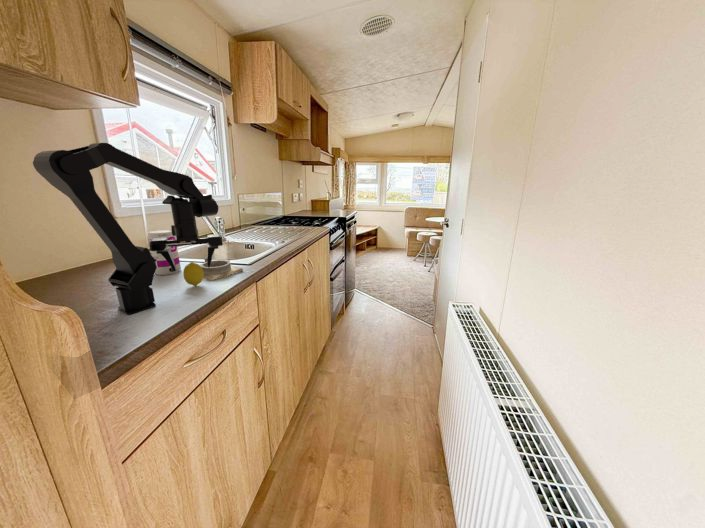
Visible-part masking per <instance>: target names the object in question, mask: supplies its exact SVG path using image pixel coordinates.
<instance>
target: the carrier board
mask: <svg viewBox="0 0 705 528" xmlns="http://www.w3.org/2000/svg"><path fill="white" fill-rule="evenodd" d="M199 265H200V266H201V268H202V270H203V273H204V277H203V279H204V278H205V279H207V278H208V279H207V280H210V279H211V280H210V281H215V280H214V279H216V280H218V279H217V278H219V279H221V278H220V277H222V278H225V277H224V276H226V277H228V276H227V275H229V276H231V275H230V274H232V275H235V274H234V273H236V274H239V273H242V272H241V271H244V269H243V267H240V266H237V265H233V264H231V262H230V261H229V260H225V259H216V260H213V259H211V263H210V267H209V268H208V256H206V257H204V262H203V263H200V264H199ZM238 272H239V273H238Z"/></svg>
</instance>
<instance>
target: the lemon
mask: <svg viewBox="0 0 705 528" xmlns="http://www.w3.org/2000/svg"><path fill="white" fill-rule="evenodd" d="M182 275H183V280H185V282H186V283H187V284H188V285H192V286H194V287H197V286H198V285H199V284H200V283H202V281H203V280H204V273H203V270H202V268H201V266H200V264H199V263H196V262H193V261H190V263H188V264H186V265H185V266H184V268H183V272H182Z"/></svg>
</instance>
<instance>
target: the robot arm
mask: <svg viewBox="0 0 705 528" xmlns="http://www.w3.org/2000/svg"><path fill="white" fill-rule="evenodd" d="M105 164H106V165H108V166H110V167H113V168H116V169H118V170H120V171H122V172H125V173H128V174H131V175H133V176H135V177H139V178H141V179H142V180H145V181H147V182H151V183H152V184H153V185H155V186H156V187H157V188H158V189H160V190H161V191H163V192H165V194H166V193H167V194H169V195H167V196H166V198H165V199H164V200H163V201H162V202H161V203H162V204H163V205H170V209H171V215H172V220H173V224H172V225H170V228H171V229H170V230H172V235H173V236H175V238H176V240H168V239H167V238H153V240H152V241H151V242H150V243H149V244H148V247H143V246H137V245H135V244H134V243H133V241H132V240H131V239H130V238H129V236H128V235H127V233H125V231H124V229H123V228H122V226H121V225H120V224H119V222H118V221H117V219H116V218H115V217H114V215H113V214H112V212H111V211H110V209H109V208H108V207H107V206H106V204H105V203H104V202H103V200H102V199H101V197H100V196H99V194H98V193H97V192H96V189H95V183H94V182H95V181H94V176H93V175H92V173H91V170H94V169H97V168H99V167H101V166H103V165H105ZM32 166H33V167H34V169H35V172H37V173H38V174H39V175H40V176H41V177H43V179H45V180H46V181H47V182H48V183H49V184H50V185H51V186H52V187H54V188H55V189H57V190H58V191H60V193H62V194H64V195H65V196H66V197H68V198H69V199H70V200H71V202H72V203H73V204H74V206H75V207H76V208H77V209H78V211H79V212H80V214H82V216H83V217H84V218H85V220H86V221H87V223H89V225H90V226H91V227H92V229H93V230H94V232H96V234H97V235H98V236H99V238H100V239H101V240H102V242H103V243H104V244H105V245H106V247H108V249H109V251H110V252H111V257H112V259H111V260H112V262H113V265H114V266H115V268H116V269H115V270H114V271H113V272H112V274H111V275H110V276H109V278H108V279H107V281H108V283H110V285H111V286H113V287H115V292H116V296H117V301H118V305H119V306H117V309H118V310H119V311H121V312H122V313H124V314H125V315H127V316H128V315H132V314H135V313H139V312H142V311H144V310H148V309H151V308H153V307H157V304H156V303H155V302H156V301H155V295H154V290H153V288H152V287H151V286H152V285H153V283H154V277H155V274H156V273H155V271H156V269H157V266H156V264H155V262H154V261H156V259H154V258H153V257H152V255H151V253H150V251H157V252H156V253H157V254H161V255H162V256H163V257H164V258H165V259H166V260H167V261H168V263H169V264H170V266H171V267H172V269H173V270H174V271H176V266H175V263H174V260H173V256H172V253H171V248H170V246H177V247H181V246H182V247H183V246H194V245H207V257H208V268H209V267H210V263H211V259H212V258H213V256H214V253H215V250H216V249H217V250H218V249H219V247H222V246H223V238H222V235H220V233H216V234H215V233H214V234H207V237H201V238H199V237H200V236H199V235H200V234H199V229H198V228H197V220H196V218H203V217H212V216H216V215H217V214H218V212H219V205H218V203H217V201H216V200H215V199H214V198H213V194H205V193H204V194H203V193H202V192H201V190H199V188H198V187H197V186H196V184H195V183H194V180H193V178H192V177H191V176H189V175H187V174H184V173H180V172H176V171H175V172H174V171H171V170H166V169H162V168H160V167H158V166H156V165H154V164H152V163H149V162H147V161H145V160H143V159H140V158H138V157H137V156H134V155H132V154H131V153H128V152H125V151H124V150H121V149H119V148H117V147H115V146H114V145H112V144H111V143H108V142H93V143H90V144H88V145H85V146H81V147H78V148H72V149H69V150H65V149H59V150H57V149H56V150H42V151H40V152H38V153H37V154H36V155H35V156H34V158H33V161H32ZM175 196H177V197H175ZM149 246H150V249H148V248H149ZM212 260H213V259H212Z"/></svg>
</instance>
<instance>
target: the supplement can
mask: <svg viewBox="0 0 705 528" xmlns="http://www.w3.org/2000/svg"><path fill="white" fill-rule="evenodd" d="M146 238H147V243H148V248H149V249H148V250H149V251H150V246H149V243H150V242H151V241H152V240H153V238H167V239H168V240H177V239H176V236H173V235H172V230H171V229H158V230H157V229H156V230H151V231H148V234H147V236H146ZM170 248H171V253H172V256H173V260H174V263H175V266H176V271H174V270H173V269H172V267H171V266H170V264H169V263H168V261H167V260H166V259H165V258H164V257H163V256H162V255H161V254H157V253H156V252H157V251H150V253H151V255H152V257H153V258H154V259H156V261H154V262H155V264H156V266H157V269H156V271H155V273H154V274H156V275H158V276H168V275H172V274H177V273H178V272H179V271H181V269H182V268H181V262H180V256H179V250H178V246H170Z"/></svg>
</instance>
